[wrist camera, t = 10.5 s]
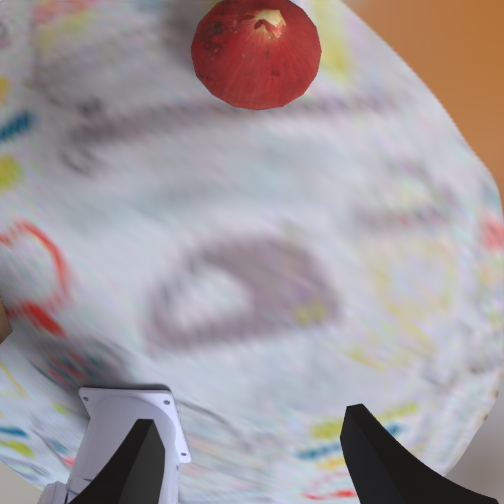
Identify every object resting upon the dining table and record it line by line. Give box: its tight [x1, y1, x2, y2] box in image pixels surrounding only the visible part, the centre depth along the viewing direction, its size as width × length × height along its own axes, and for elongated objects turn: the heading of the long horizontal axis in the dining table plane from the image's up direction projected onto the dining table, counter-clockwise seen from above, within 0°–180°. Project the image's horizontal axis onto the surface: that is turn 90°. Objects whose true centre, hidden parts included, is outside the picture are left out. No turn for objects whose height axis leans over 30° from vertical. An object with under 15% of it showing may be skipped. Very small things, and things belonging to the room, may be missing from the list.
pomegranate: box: [191, 0, 322, 110], centre depth 12 cm, size 6×6×8 cm
